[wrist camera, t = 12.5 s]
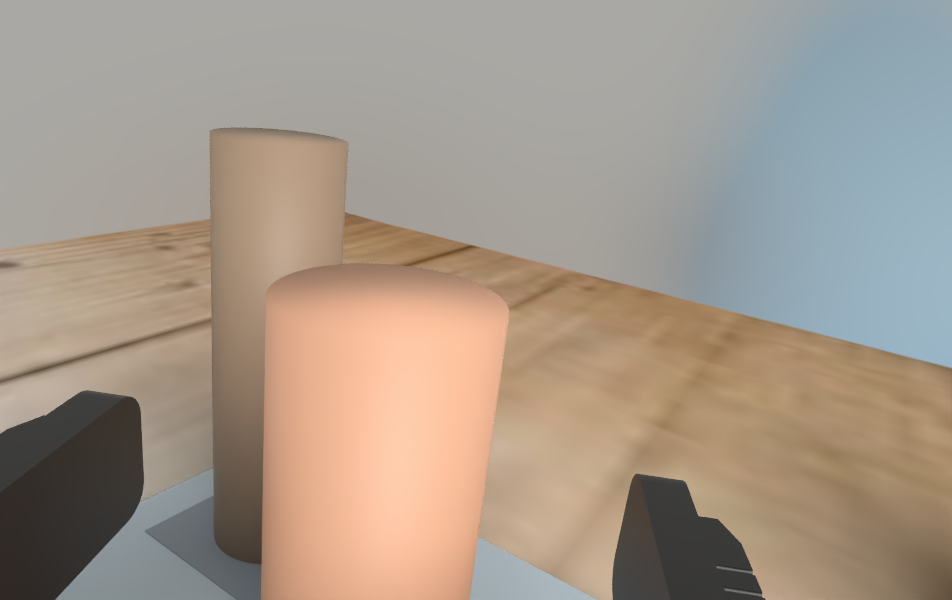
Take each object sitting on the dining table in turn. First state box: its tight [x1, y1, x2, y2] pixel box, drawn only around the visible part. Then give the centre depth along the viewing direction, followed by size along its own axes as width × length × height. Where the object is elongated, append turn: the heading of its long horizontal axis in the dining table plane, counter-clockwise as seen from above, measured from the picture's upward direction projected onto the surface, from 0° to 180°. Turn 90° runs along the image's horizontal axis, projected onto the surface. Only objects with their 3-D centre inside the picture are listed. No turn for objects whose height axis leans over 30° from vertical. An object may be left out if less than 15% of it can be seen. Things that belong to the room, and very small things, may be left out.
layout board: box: [56, 128, 597, 600], centre depth 15 cm, size 18×14×13 cm
